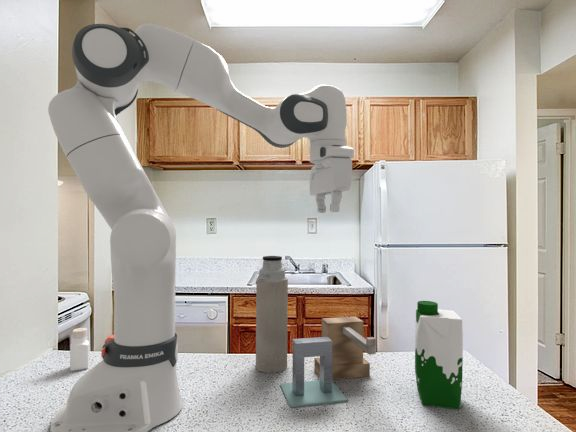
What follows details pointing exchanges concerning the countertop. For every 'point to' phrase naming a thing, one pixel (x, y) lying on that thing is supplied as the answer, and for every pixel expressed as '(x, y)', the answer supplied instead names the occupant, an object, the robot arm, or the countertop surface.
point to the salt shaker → (79, 350)
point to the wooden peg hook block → (347, 347)
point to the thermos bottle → (271, 316)
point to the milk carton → (438, 355)
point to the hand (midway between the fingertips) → (327, 212)
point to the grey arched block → (312, 349)
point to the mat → (312, 395)
